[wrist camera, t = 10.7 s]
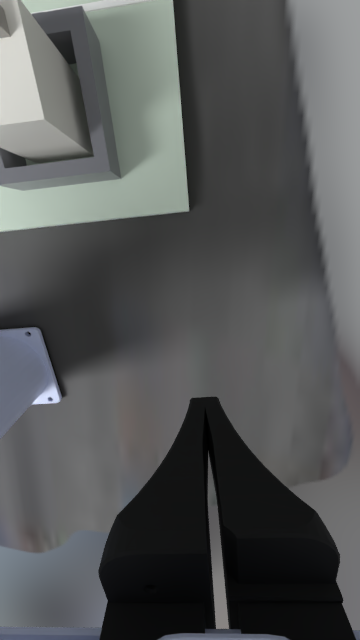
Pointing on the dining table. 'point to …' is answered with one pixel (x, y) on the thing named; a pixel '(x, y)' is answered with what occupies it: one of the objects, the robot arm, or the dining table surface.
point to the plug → (38, 93)
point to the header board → (108, 120)
